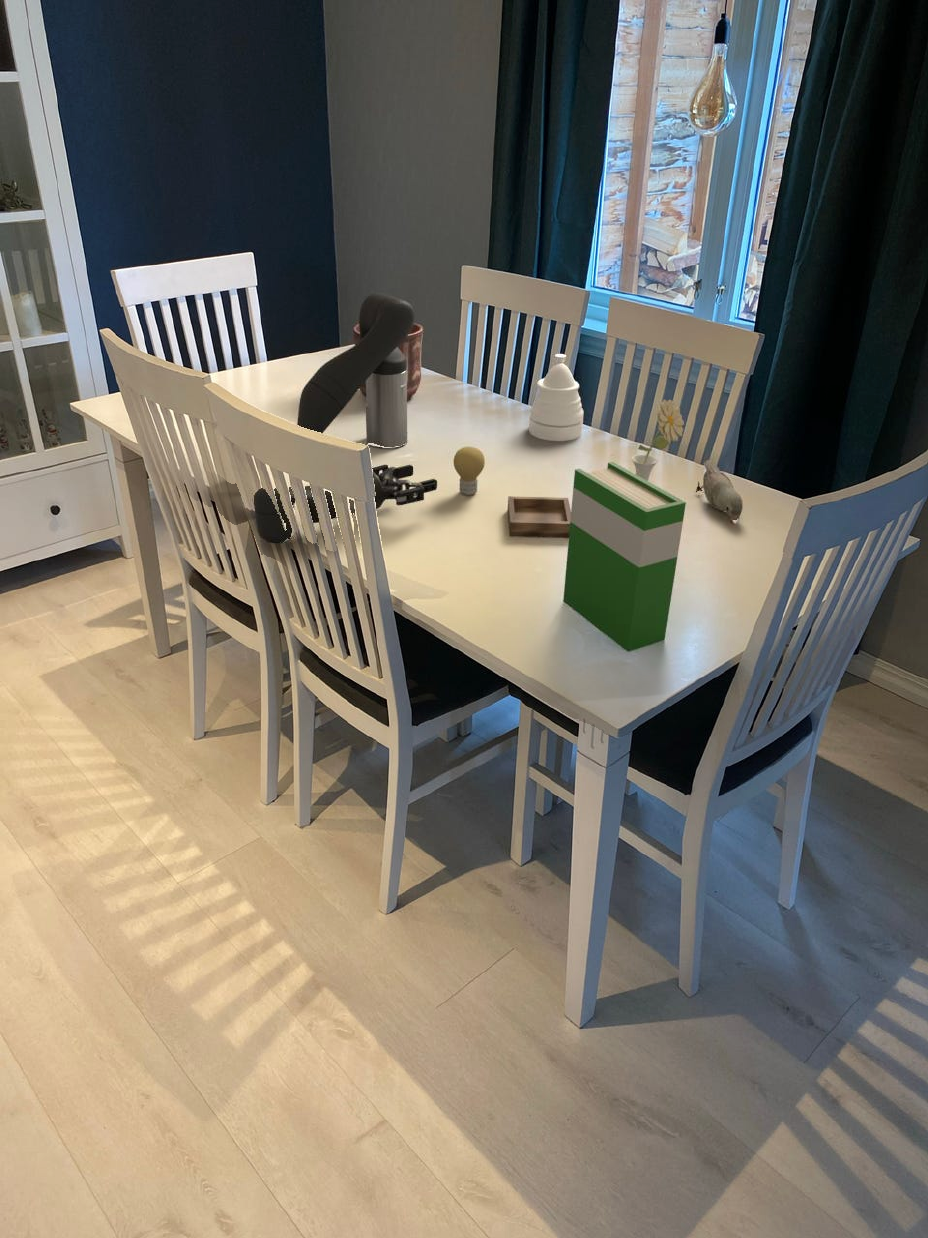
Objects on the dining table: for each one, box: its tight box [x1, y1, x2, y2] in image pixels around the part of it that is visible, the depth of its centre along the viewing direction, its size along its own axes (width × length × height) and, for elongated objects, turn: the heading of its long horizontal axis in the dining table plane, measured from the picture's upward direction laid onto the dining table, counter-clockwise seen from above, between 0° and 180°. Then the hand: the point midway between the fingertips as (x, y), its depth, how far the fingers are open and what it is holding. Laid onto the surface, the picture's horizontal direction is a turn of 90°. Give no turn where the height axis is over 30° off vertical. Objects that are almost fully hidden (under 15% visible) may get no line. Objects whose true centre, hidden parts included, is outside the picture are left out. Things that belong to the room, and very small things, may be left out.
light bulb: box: [453, 446, 486, 496], centre depth 199 cm, size 6×6×10 cm
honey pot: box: [528, 353, 585, 442], centre depth 230 cm, size 13×13×18 cm
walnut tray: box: [507, 496, 571, 539], centre depth 189 cm, size 12×12×3 cm
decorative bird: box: [695, 459, 744, 520], centre depth 197 cm, size 5×16×8 cm, turn 12°
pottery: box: [352, 322, 424, 401], centre depth 249 cm, size 18×18×18 cm
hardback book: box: [562, 461, 687, 653], centre depth 153 cm, size 18×7×24 cm, turn 30°
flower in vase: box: [631, 399, 685, 482], centre depth 185 cm, size 13×11×25 cm
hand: (424, 476), depth 193 cm, fingers open, 8 cm apart
